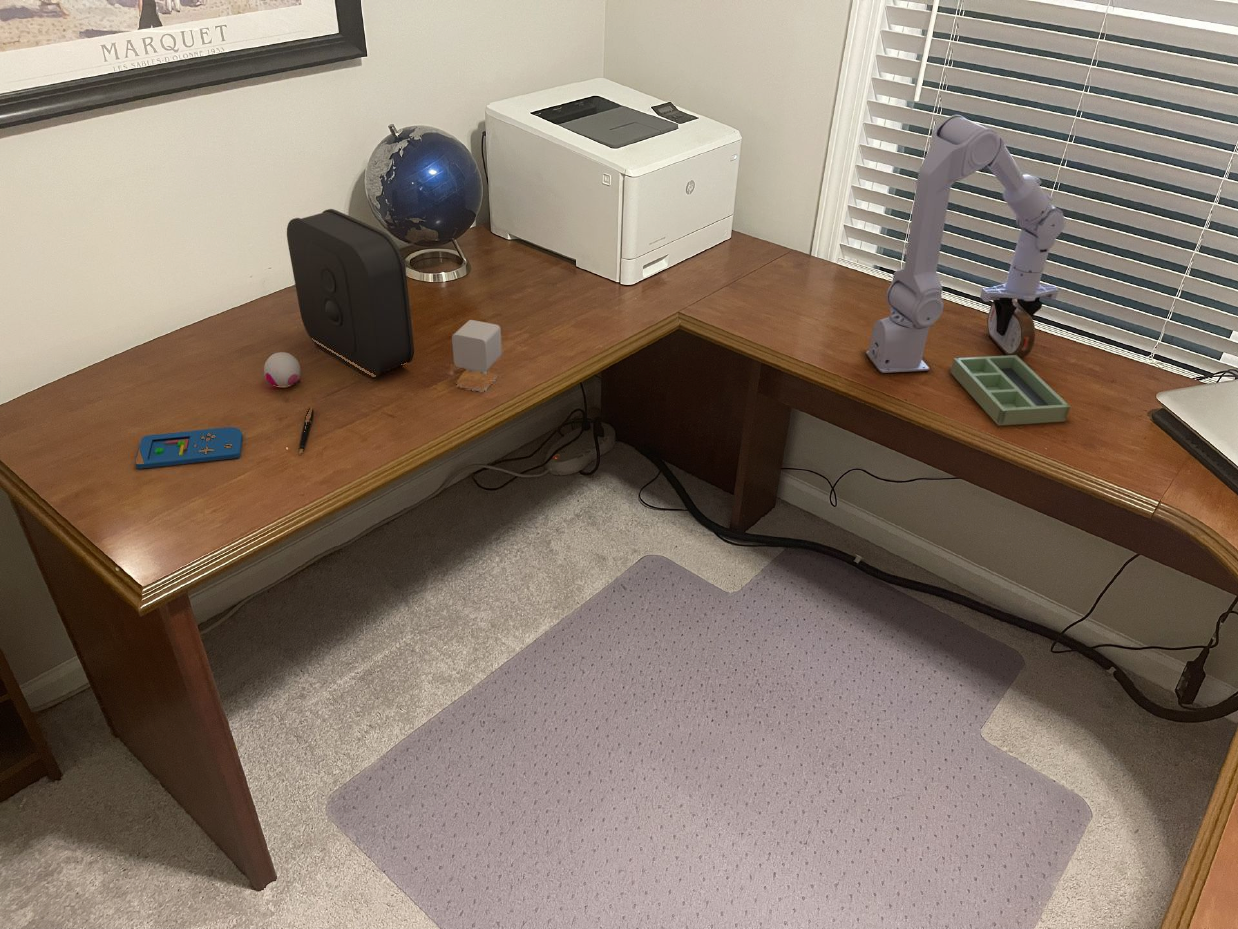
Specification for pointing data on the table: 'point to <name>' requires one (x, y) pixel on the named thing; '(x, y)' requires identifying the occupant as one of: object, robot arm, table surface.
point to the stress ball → (282, 369)
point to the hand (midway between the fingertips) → (1007, 332)
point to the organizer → (1009, 390)
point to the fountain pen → (306, 433)
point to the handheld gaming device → (189, 447)
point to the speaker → (352, 290)
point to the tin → (1013, 332)
